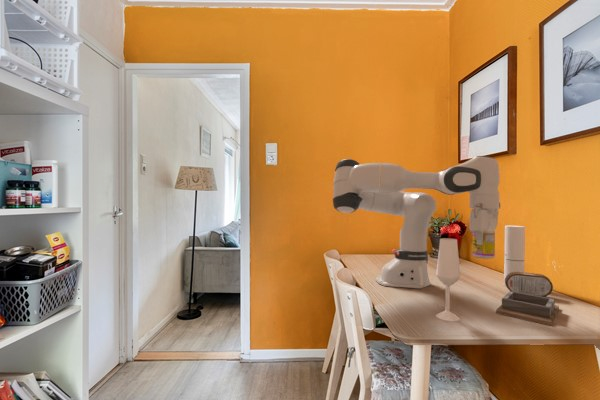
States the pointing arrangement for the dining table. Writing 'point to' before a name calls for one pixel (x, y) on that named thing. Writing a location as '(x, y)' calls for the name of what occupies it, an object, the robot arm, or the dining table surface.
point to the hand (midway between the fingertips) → (483, 243)
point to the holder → (529, 307)
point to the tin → (529, 283)
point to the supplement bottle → (485, 244)
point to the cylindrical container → (514, 249)
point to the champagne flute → (448, 272)
